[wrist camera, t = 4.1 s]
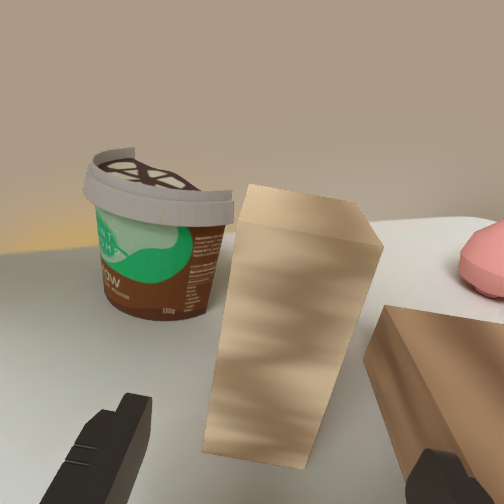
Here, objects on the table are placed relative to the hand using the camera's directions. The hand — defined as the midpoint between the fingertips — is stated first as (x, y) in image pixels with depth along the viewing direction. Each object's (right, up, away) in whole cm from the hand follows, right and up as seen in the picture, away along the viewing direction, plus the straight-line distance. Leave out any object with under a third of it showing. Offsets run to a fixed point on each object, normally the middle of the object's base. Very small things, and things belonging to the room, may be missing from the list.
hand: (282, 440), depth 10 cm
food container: (-10, +2, +17) cm, 20 cm away
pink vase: (+24, +1, +28) cm, 37 cm away
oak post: (-1, -4, +9) cm, 10 cm away
